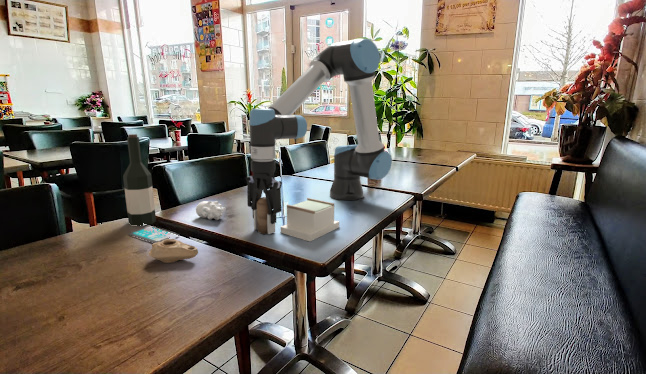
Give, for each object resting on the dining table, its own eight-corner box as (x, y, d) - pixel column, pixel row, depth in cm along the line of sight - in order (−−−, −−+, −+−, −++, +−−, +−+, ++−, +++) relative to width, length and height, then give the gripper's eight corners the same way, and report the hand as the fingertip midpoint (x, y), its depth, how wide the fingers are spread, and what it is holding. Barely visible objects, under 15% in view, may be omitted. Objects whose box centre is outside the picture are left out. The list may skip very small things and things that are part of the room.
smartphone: (156, 243, 100) (126, 233, 108) (157, 246, 101) (126, 236, 108) (181, 234, 108) (151, 225, 115) (182, 237, 108) (152, 228, 115)
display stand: (311, 219, 124) (311, 196, 122) (339, 227, 117) (339, 202, 115) (280, 232, 112) (280, 206, 110) (309, 241, 105) (310, 213, 103)
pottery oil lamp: (189, 268, 86) (172, 247, 83) (156, 275, 91) (139, 255, 88) (207, 244, 93) (192, 224, 90) (175, 251, 98) (160, 233, 95)
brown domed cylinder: (265, 227, 116) (264, 194, 113) (275, 230, 113) (274, 196, 111) (254, 231, 112) (253, 197, 110) (265, 234, 110) (264, 200, 107)
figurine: (209, 206, 131) (233, 208, 125) (201, 221, 128) (225, 225, 122) (197, 196, 125) (222, 199, 120) (188, 213, 122) (213, 216, 117)
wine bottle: (161, 220, 122) (152, 134, 115) (142, 227, 114) (131, 136, 107) (143, 217, 125) (133, 133, 118) (123, 224, 117) (111, 135, 110)
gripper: (233, 157, 110) (236, 227, 115) (276, 164, 99) (277, 240, 104) (251, 155, 116) (253, 221, 121) (293, 161, 105) (293, 233, 110)
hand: (264, 230), depth 113 cm, fingers open, 5 cm apart
